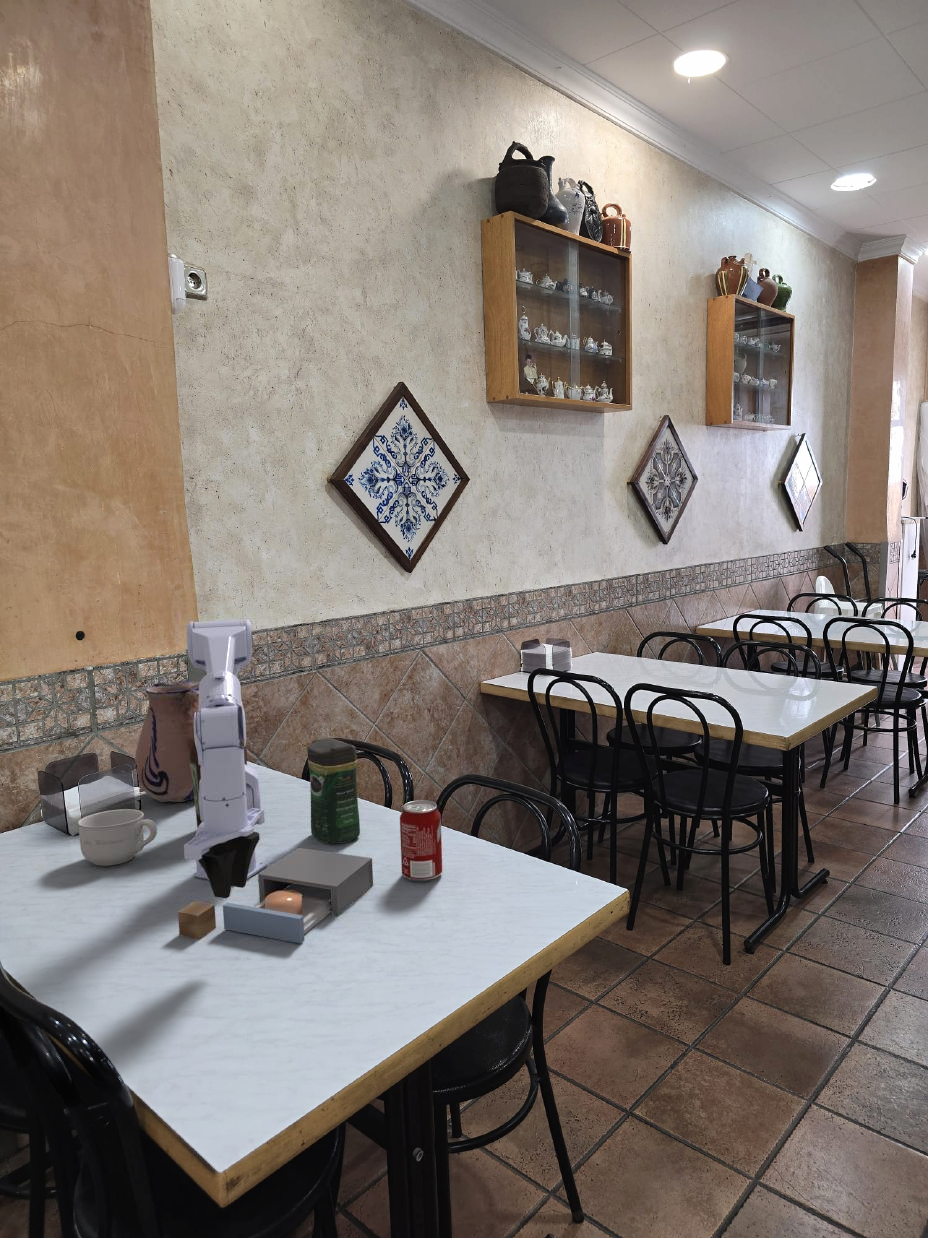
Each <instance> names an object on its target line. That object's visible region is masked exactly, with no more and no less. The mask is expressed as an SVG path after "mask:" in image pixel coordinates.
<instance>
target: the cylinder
mask: <svg viewBox="0 0 928 1238" xmlns="http://www.w3.org/2000/svg"><path fill="white" fill-rule="evenodd" d="M302 895H303V894H302V893H301V892H299V891H296V890H293V889H284V890H281V891H277V892H274V893H271V894H269V895H268V896H267V897H266V898H265V909H268V910H274V911H279V912H285V913H291V914H296V915H301V914H302Z"/></svg>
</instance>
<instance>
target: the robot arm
mask: <svg viewBox="0 0 928 1238" xmlns="http://www.w3.org/2000/svg"><path fill="white" fill-rule="evenodd" d="M252 638H253V637H252V624H251V621H250V620H248V618H243V619H230V620H229V619H227V620H226V619H225V620H210V621H209V620H207V621H194V620H193V621H192V620H191V621H189V623H187V625H186V646H187V647H186V648H187V656H188V659H189V660H190V663H191V664H192V667H193V668H195V669H199V670H202V671H205V673H206V675H204V676H203V677H202V678H201V680H200V681H199V682H200V684H199V701H198V713H197V714H196V712H195V714H194V738H195V745H196V748H197V753H198V762H199V765H201V768H200V771H201V779H200V782H199V808H200V819H201V821H202V823H201V824H200V825H199V827H198V829H197V828H196V832H195V836H194V837H192V839H191V840H189V841H188V842H186V843H185V844H183V850H184V851H183V853H184V859H185V860H188V861H190V860H191V861H195V862H196V863H195V864H196V872H194V873H193V877H195V878H199V879H206V880H208V881H209V884H210V887H211V890H212V893H213V895H214V898H219V899H226V900H227V899H228V898H230V896H231V892H232V887H235V888H241V889H243V888H245V887H246V884H247V879H249V878H251V877H252V876H254V875H255V874H257V873H258V872H261V870H262V869H264V868H265V869H266V867H267V865H268V863H267V862H262V861H256V860H257V859H256V858H257V857H256V848H257V846H258V843H259V841H260V838H261V837H260V833H259V832H257V831H255V826H256V825H262V824H265V823H266V820H265V809H263V808H262V807H261V795H260V794H261V792H260V791H261V790H260V782H259V775H258V773H257V771H256V770H255V769H254V768H252V767H250V766H249V765H248V764H247V765H245V762H244V748H243V746H242V745H241V744H240V740H241V739H242V740H243V742H244V747H245V746H246V743H247V727H246V723H247V722H246V712H245V708H244V704H243V701H242V690H241V689H242V688H241V682H240V680H239V678H238V674H239V672H240V669H241V668H243V667H246V666H248V665H250V664H251V661H252V655H253V642H252V641H253V640H252Z"/></svg>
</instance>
